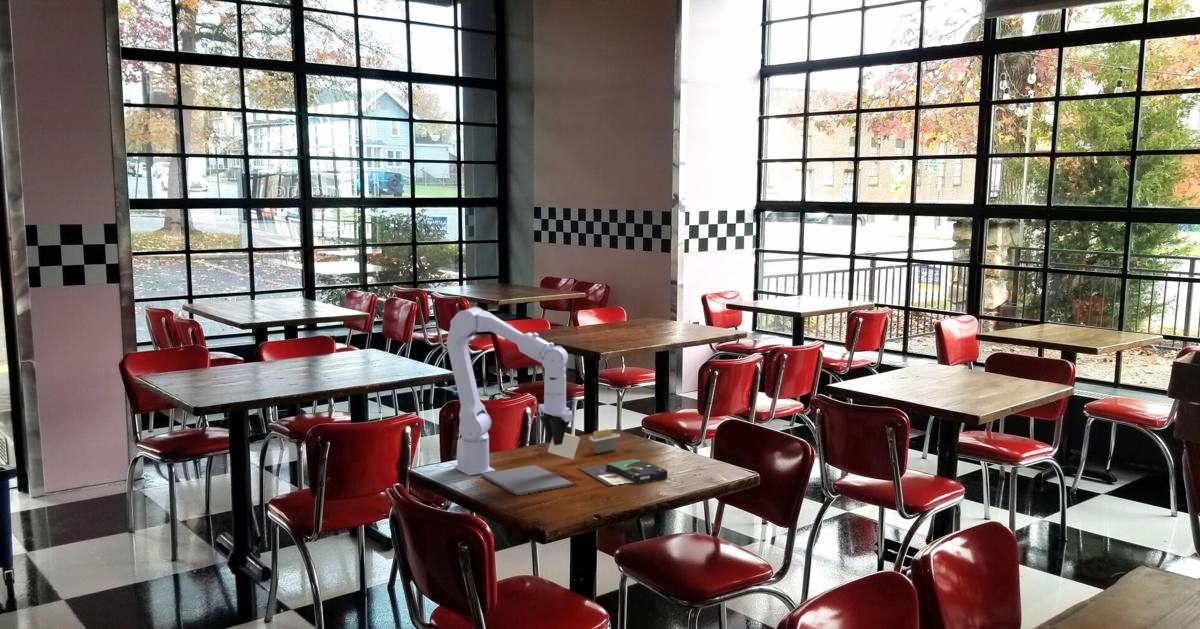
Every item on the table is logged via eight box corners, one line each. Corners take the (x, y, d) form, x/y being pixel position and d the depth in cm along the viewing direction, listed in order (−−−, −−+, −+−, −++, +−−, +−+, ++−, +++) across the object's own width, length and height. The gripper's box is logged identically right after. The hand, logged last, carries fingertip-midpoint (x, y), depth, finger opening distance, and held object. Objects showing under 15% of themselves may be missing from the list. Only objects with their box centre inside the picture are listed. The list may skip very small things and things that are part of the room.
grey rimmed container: (566, 453, 282) (566, 431, 282) (614, 444, 294) (614, 422, 293) (591, 462, 273) (591, 439, 272) (640, 452, 284) (640, 430, 284)
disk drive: (668, 480, 256) (636, 466, 268) (668, 470, 256) (636, 456, 268) (635, 486, 250) (605, 472, 263) (636, 476, 250) (605, 462, 263)
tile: (547, 451, 257) (554, 429, 258) (568, 457, 261) (575, 435, 262) (552, 453, 255) (559, 431, 256) (573, 459, 259) (580, 437, 260)
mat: (482, 476, 257) (482, 473, 257) (535, 467, 265) (535, 464, 265) (517, 495, 240) (517, 492, 240) (573, 485, 249) (573, 482, 249)
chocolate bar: (607, 464, 268) (639, 481, 252) (607, 467, 268) (639, 484, 252) (578, 468, 264) (608, 485, 248) (578, 471, 264) (608, 489, 248)
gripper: (582, 395, 251) (582, 447, 253) (554, 386, 263) (554, 435, 265) (559, 398, 248) (559, 450, 249) (531, 389, 260) (531, 438, 261)
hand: (555, 443), depth 257 cm, fingers closed on tile, 2 cm apart
